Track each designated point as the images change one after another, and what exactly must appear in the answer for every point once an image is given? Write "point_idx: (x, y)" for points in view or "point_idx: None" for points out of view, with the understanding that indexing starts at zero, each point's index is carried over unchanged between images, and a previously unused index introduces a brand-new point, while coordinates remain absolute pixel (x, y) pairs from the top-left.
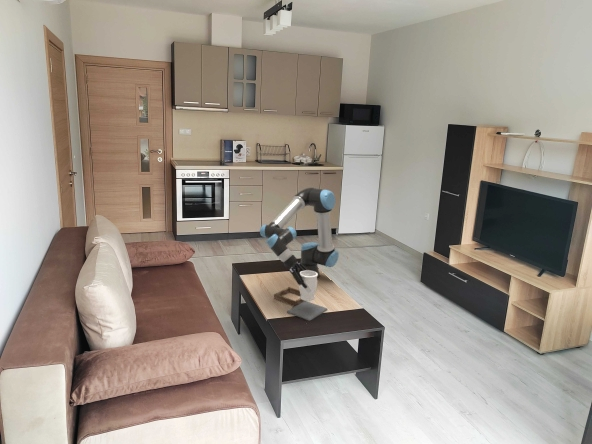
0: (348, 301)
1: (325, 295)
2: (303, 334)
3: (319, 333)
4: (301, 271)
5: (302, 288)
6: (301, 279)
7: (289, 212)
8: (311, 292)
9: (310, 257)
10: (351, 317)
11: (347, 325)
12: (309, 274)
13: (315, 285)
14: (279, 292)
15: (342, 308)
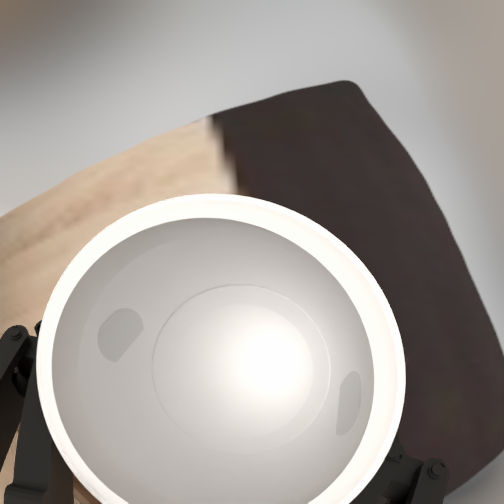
0: (134, 152)
1: (65, 251)
2: (493, 360)
3: (477, 291)
4: (94, 494)
5: (321, 434)
6: (384, 490)
7: None
8: (320, 333)
9: None
10: (300, 144)
11: (382, 167)
12: (84, 345)
13: (305, 278)
14: (78, 494)
15: (205, 175)
